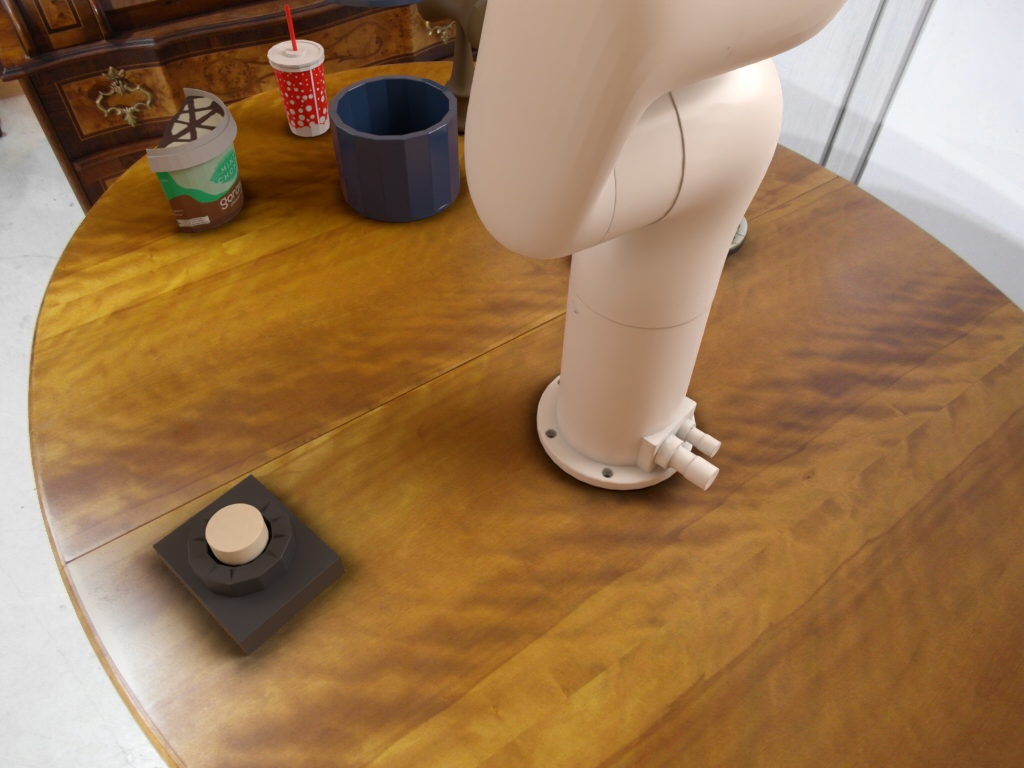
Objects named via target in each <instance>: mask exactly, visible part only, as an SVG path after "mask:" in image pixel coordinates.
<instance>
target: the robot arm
mask: <svg viewBox="0 0 1024 768" xmlns="http://www.w3.org/2000/svg"><path fill="white" fill-rule="evenodd" d="M847 1H848V0H488V1H487V7H486V12H485V17H484V23H483V28H482V33H481V39H480V44H479V50H478V49H477V54H476V55H477V56H476V60H475V65H474V68H475V71H474V76H473V82H472V87H471V93H470V99H469V104H468V110H467V117H466V126H465V132H464V141H463V144H464V151H463V152H464V170H465V176H466V182H467V187H468V191H469V195H470V198H471V201H472V204H473V206H474V210H475V212H476V214H477V216H478V218H479V220H480V222H481V223H482V225H483V226H484V228H485V229H486V230H487V232H488V233H489V234H490V235H491V236H492V237H493V238H494V239H495V241H496V242H498V244H500V245H501V246H502V247H504V248H505V249H506V250H509V251H510V252H512V253H514V254H517V255H518V256H521V257H525V258H529V259H533V260H534V259H535V260H553V259H554V260H555V259H560V258H563V257H567V256H571V261H570V271H569V280H568V289H567V300H566V312H565V322H564V332H563V343H562V354H561V361H560V362H561V363H560V373H559V375H557V376H556V377H554V379H553V380H552V381H551V382H550V383H549V384H548V385H547V387H546V388H545V389H544V391H543V393H542V394H541V397H540V398H539V399H540V400H539V402H538V405H537V413H536V430H537V435H538V438H539V441H540V444H541V445H542V447H543V449H544V451H545V453H546V454H547V455H548V456H549V458H550V459H551V461H553V463H554V464H555V465H557V466H558V467H559V468H560V469H561V470H563V472H565V473H567V475H569V476H571V477H572V478H575V479H576V480H578V481H581V482H583V483H586V484H588V485H590V486H593V487H597V488H603V489H606V490H617V491H629V490H630V491H631V490H640V489H644V488H647V487H651V486H654V485H657V484H659V483H661V482H663V481H666V480H667V479H669V478H670V477H672V476H673V475H674V474H675V473H679V474H681V475H682V476H683V478H685V479H686V480H687V481H689V482H690V483H692V484H693V485H695V486H696V487H698V488H699V489H701V490H702V491H704V492H705V491H707V490H708V489H709V488H710V486H712V484H713V483H714V481H715V479H716V478H717V476H718V474H719V472H720V468H718V466H716V465H714V464H713V463H711V462H709V461H708V460H706V459H705V458H703V457H702V456H700V455H696V454H695V453H693V452H692V449H693V447H695V448H696V450H698V451H700V452H701V453H703V455H706V456H707V457H708V458H710V459H712V458H714V457H715V455H716V454H717V453H718V451H719V450H720V448H721V445H722V442H721V441H719V440H717V438H714V437H713V436H711V435H709V434H708V433H705V432H703V431H702V430H701V429H698V428H697V423H696V419H695V414H694V413H695V411H696V407H697V401H694V400H693V399H692V398H690V397H689V396H687V393H688V389H689V386H690V382H691V379H692V375H693V371H694V368H695V364H696V361H697V358H698V354H699V350H700V347H701V344H702V340H703V337H704V333H705V329H706V325H707V323H708V319H709V315H710V312H711V308H712V305H713V301H714V299H715V297H716V293H717V290H718V287H719V282H720V279H721V275H722V272H723V269H724V266H725V263H726V260H727V257H728V256H727V254H728V251H729V249H730V246H731V243H732V240H733V238H734V236H735V233H736V231H737V228H738V226H739V224H740V222H741V220H742V218H743V216H744V217H745V214H746V212H747V210H748V208H749V207H750V205H751V203H752V201H753V199H754V197H755V195H756V193H757V192H758V189H759V188H760V185H761V184H762V182H763V179H764V178H765V176H766V174H767V172H768V170H769V167H770V164H771V162H772V160H773V157H774V155H775V152H776V148H777V146H778V141H779V138H780V134H781V129H782V125H783V117H784V116H783V115H784V96H783V90H782V82H781V79H780V76H779V73H778V69H777V66H776V65H775V62H774V60H773V59H772V58H774V57H776V56H778V55H781V54H784V53H786V52H788V51H791V50H793V49H794V48H797V47H798V46H801V45H803V44H805V43H806V42H808V41H809V40H810V39H813V38H814V37H815V36H817V35H818V34H819V33H820V32H822V30H824V29H825V28H826V27H827V26H828V25H829V24H830V23H831V22H832V21H833V20H834V19H835V17H836V16H837V15H838V14H839V12H840V11H841V10H842V8H843V7H844V6H845V5H846V3H847Z"/></svg>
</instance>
